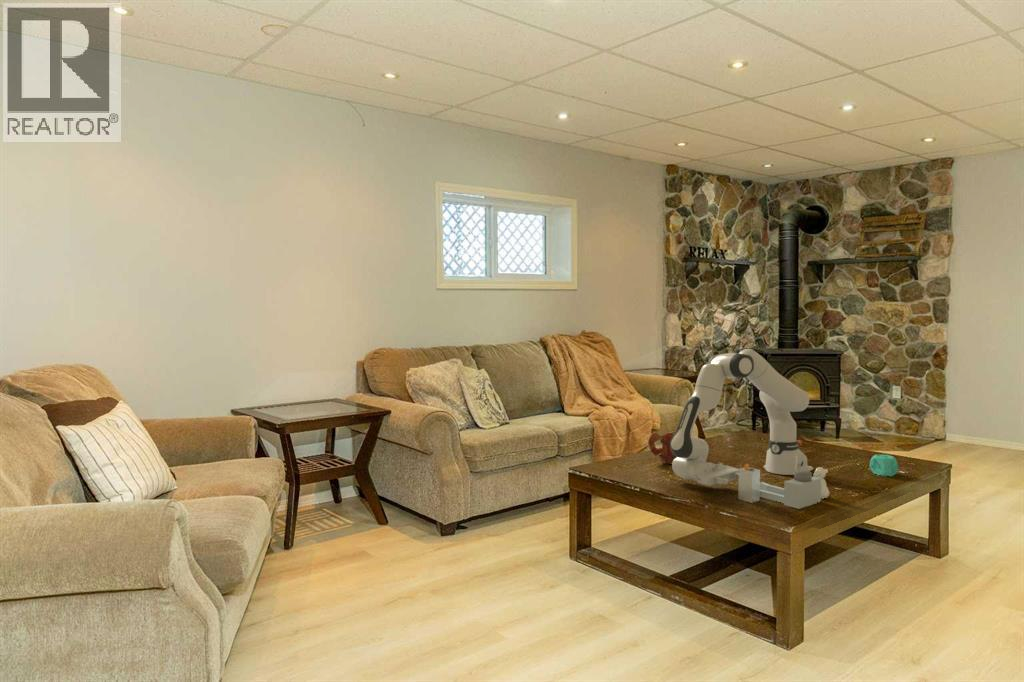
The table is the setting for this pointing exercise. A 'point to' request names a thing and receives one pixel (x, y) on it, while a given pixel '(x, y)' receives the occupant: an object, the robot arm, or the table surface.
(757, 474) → the block
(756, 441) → the table surface
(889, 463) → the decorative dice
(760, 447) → the table surface
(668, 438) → the mug
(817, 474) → the white creature statuette
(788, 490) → the bracket
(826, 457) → the table surface
